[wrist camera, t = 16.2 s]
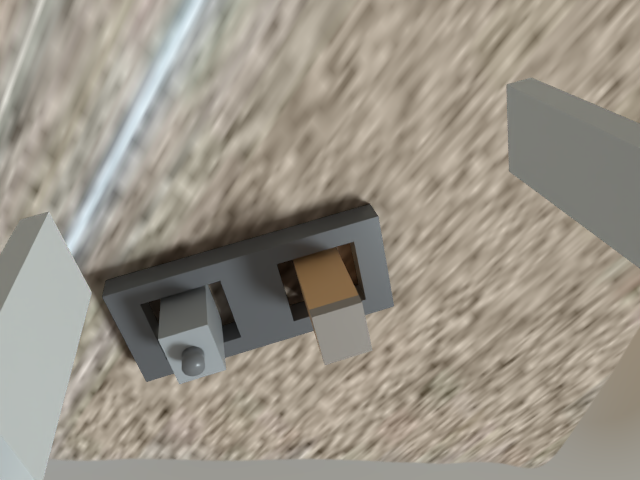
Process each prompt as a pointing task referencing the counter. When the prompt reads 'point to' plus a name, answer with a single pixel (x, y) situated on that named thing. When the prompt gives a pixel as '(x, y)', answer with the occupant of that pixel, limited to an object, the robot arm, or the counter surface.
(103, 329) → the counter surface
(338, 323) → the plug
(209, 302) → the gray fixture base
